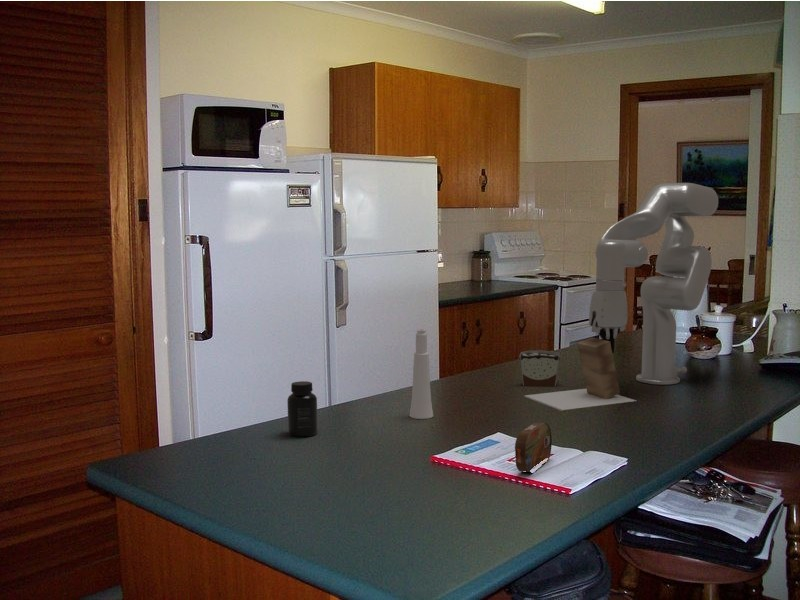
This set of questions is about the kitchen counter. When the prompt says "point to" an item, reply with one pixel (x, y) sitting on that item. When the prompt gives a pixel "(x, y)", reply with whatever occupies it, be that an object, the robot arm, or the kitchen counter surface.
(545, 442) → the tin
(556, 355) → the food container
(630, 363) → the kitchen counter surface
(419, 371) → the cosmetic bottle
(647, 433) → the kitchen counter surface
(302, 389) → the supplement bottle
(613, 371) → the walnut block
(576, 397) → the grey mat
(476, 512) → the kitchen counter surface
